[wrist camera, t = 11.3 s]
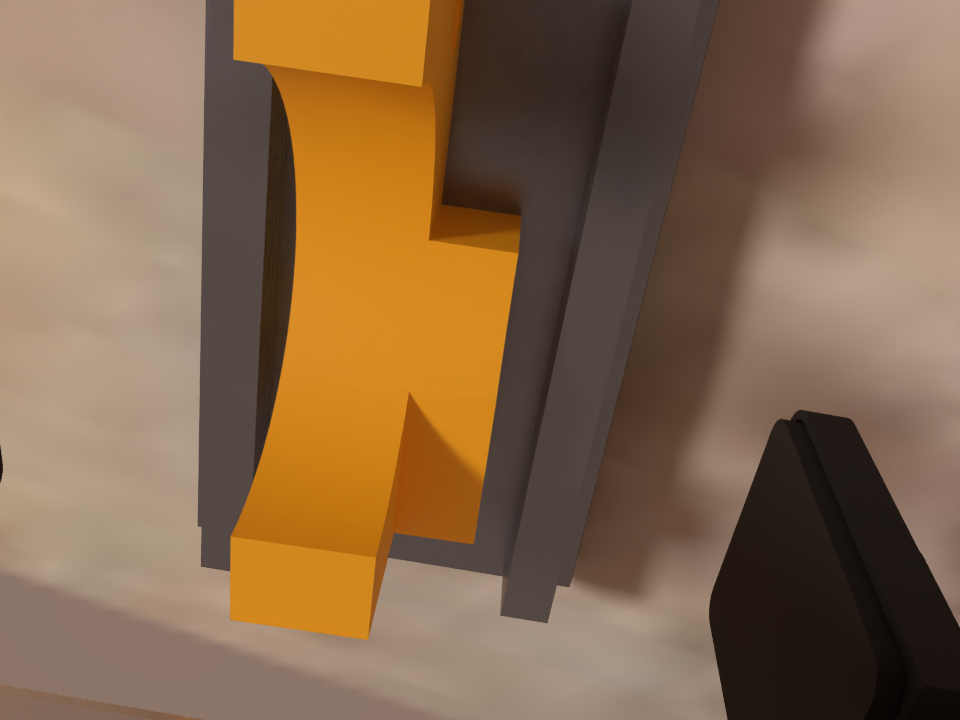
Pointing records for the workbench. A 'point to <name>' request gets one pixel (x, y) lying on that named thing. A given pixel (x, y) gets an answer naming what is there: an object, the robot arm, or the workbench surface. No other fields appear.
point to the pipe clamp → (370, 313)
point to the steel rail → (539, 271)
